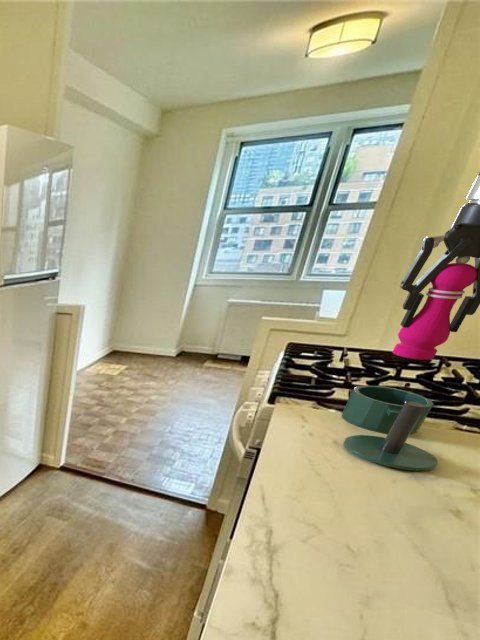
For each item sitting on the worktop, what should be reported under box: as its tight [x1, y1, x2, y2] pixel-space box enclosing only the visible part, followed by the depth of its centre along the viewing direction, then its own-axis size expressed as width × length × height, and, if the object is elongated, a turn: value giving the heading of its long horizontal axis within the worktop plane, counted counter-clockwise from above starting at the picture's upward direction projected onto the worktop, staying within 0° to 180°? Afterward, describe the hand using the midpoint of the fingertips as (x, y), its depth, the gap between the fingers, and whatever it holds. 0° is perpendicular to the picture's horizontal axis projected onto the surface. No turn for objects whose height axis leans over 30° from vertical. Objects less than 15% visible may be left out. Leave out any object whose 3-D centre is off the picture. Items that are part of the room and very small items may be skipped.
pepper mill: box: [391, 256, 477, 361], centre depth 97 cm, size 7×7×20 cm
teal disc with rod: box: [342, 401, 439, 472], centre depth 94 cm, size 14×14×11 cm
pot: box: [341, 385, 434, 436], centre depth 108 cm, size 13×18×6 cm
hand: (427, 327), depth 99 cm, fingers closed on pepper mill, 6 cm apart
